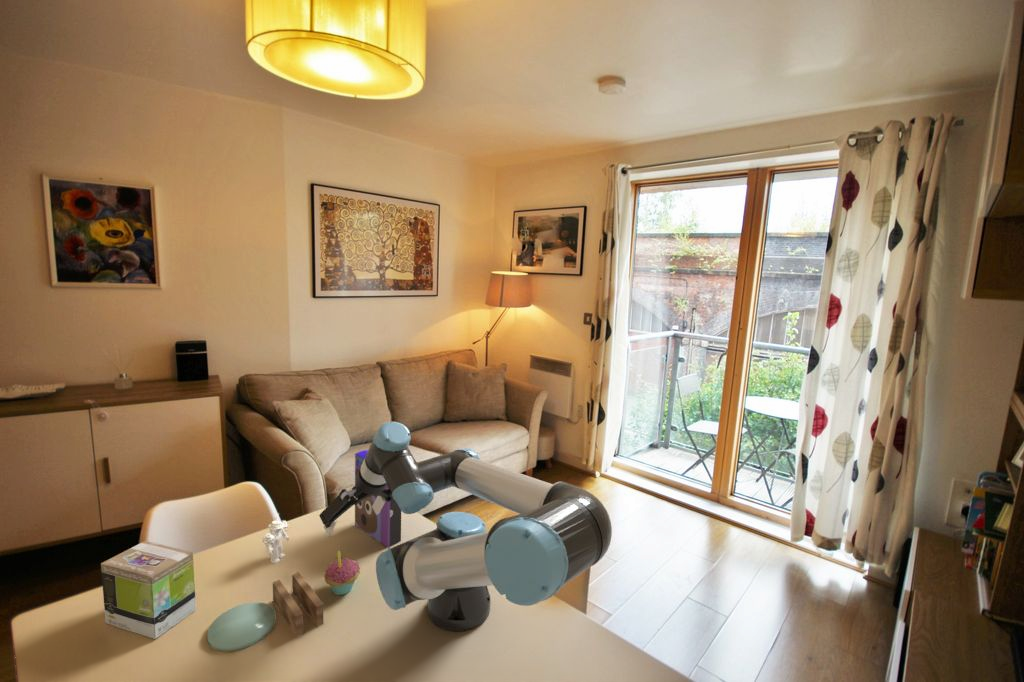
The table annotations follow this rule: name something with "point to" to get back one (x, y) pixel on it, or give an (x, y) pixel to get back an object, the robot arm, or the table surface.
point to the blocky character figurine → (276, 539)
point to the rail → (288, 608)
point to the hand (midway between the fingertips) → (352, 520)
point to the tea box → (148, 588)
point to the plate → (241, 626)
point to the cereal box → (383, 524)
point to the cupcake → (342, 575)
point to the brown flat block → (307, 599)
